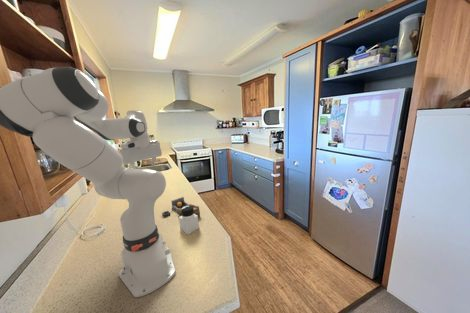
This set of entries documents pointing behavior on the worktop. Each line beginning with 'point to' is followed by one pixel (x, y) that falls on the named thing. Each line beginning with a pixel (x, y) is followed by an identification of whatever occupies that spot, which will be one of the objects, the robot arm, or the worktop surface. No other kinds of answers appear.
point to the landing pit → (174, 202)
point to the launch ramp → (196, 210)
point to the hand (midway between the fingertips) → (144, 167)
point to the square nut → (166, 213)
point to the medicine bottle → (188, 220)
